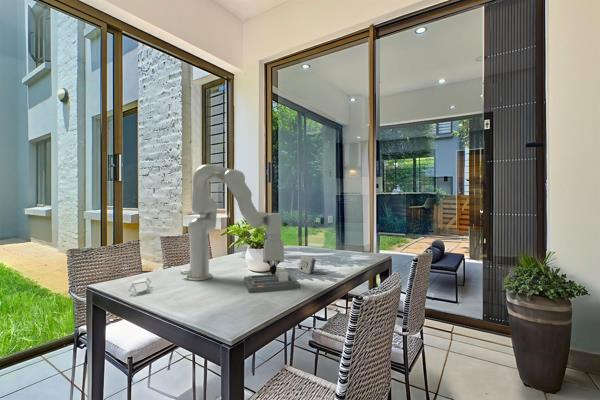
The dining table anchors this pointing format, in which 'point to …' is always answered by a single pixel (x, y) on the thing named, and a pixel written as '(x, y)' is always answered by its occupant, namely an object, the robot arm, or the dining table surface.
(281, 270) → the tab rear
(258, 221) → the robot arm
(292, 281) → the switch panel
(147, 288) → the origami figure
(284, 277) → the tab front
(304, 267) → the electrical switch
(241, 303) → the dining table surface
